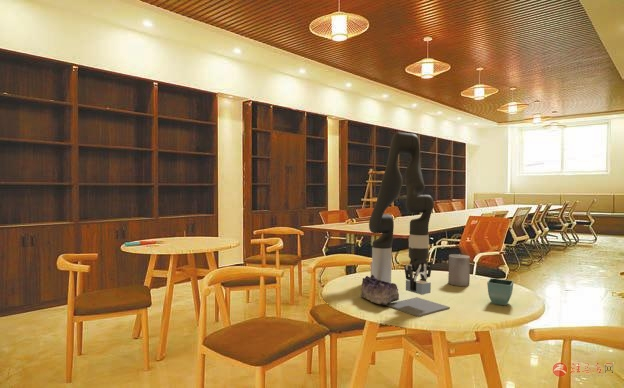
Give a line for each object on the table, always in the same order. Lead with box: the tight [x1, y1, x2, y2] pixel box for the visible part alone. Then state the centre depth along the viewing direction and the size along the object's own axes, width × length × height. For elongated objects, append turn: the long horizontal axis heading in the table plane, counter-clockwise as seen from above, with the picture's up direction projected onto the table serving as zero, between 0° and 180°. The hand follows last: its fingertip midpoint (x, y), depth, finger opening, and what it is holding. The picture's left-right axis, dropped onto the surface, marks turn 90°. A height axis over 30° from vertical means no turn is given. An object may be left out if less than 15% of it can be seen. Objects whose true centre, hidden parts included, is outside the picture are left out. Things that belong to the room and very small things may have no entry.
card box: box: [405, 278, 432, 296], centre depth 156 cm, size 5×8×4 cm, turn 35°
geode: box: [360, 275, 400, 306], centre depth 164 cm, size 20×12×10 cm, turn 27°
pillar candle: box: [447, 252, 471, 287], centre depth 194 cm, size 10×10×15 cm
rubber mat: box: [385, 296, 450, 317], centre depth 156 cm, size 16×18×1 cm
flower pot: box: [486, 277, 514, 306], centre depth 162 cm, size 9×9×9 cm
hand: (418, 289), depth 156 cm, fingers closed on card box, 5 cm apart
